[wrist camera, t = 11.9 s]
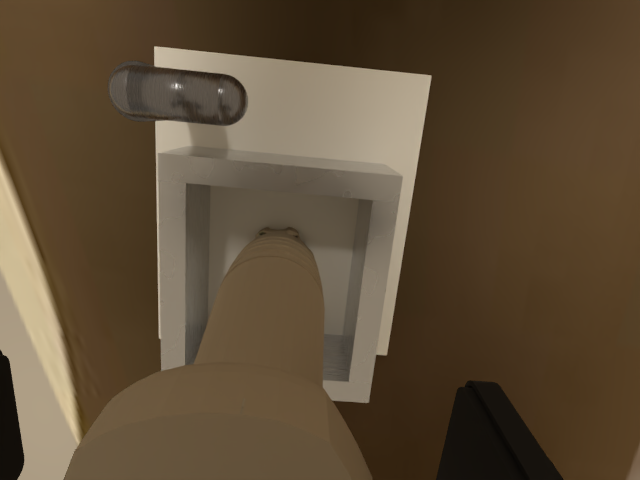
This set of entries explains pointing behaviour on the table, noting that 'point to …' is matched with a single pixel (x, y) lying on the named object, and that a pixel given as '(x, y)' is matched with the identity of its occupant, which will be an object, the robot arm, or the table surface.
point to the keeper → (280, 187)
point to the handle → (236, 389)
